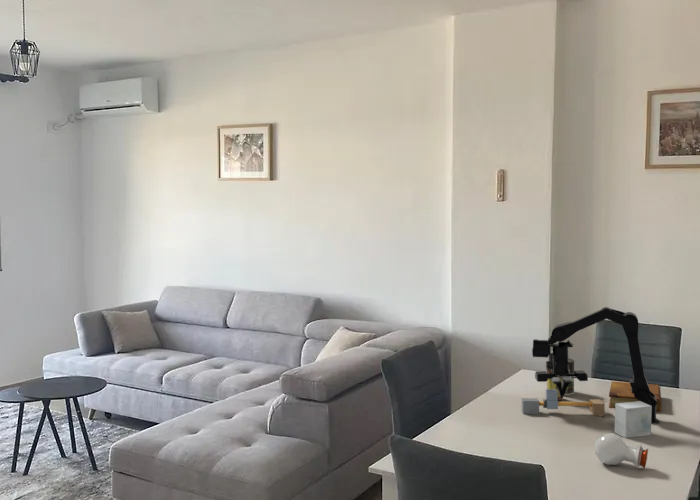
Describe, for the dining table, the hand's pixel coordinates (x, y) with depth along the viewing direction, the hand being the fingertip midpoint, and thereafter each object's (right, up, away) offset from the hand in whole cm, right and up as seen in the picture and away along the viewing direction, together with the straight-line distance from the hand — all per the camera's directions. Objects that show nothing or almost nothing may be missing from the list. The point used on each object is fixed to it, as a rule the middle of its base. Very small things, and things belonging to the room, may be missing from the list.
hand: (561, 398), depth 260 cm
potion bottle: (+1, -9, -54) cm, 55 cm away
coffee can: (+9, -4, +29) cm, 31 cm away
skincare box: (+17, -7, -26) cm, 31 cm away
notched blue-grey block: (-4, -4, 0) cm, 5 cm away
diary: (+34, -5, +13) cm, 36 cm away
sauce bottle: (+3, -5, +19) cm, 20 cm away
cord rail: (+1, -6, 0) cm, 6 cm away
